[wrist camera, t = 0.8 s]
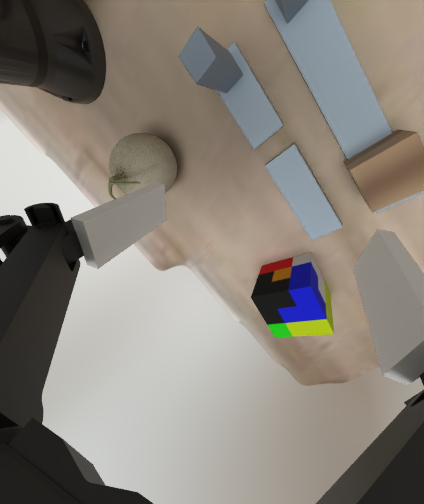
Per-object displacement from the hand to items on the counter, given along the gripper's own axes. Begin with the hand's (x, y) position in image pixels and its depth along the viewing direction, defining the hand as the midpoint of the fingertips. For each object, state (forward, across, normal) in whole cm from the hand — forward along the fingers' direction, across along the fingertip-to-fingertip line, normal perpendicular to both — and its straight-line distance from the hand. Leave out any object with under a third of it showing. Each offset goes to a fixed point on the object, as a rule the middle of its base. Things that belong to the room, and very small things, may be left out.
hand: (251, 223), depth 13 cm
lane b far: (+24, +4, -5) cm, 25 cm away
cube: (+23, +12, +1) cm, 26 cm away
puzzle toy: (+24, +8, -22) cm, 33 cm away
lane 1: (+24, -8, +7) cm, 26 cm away
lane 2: (+24, +5, +8) cm, 26 cm away
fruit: (+24, -23, -4) cm, 34 cm away
